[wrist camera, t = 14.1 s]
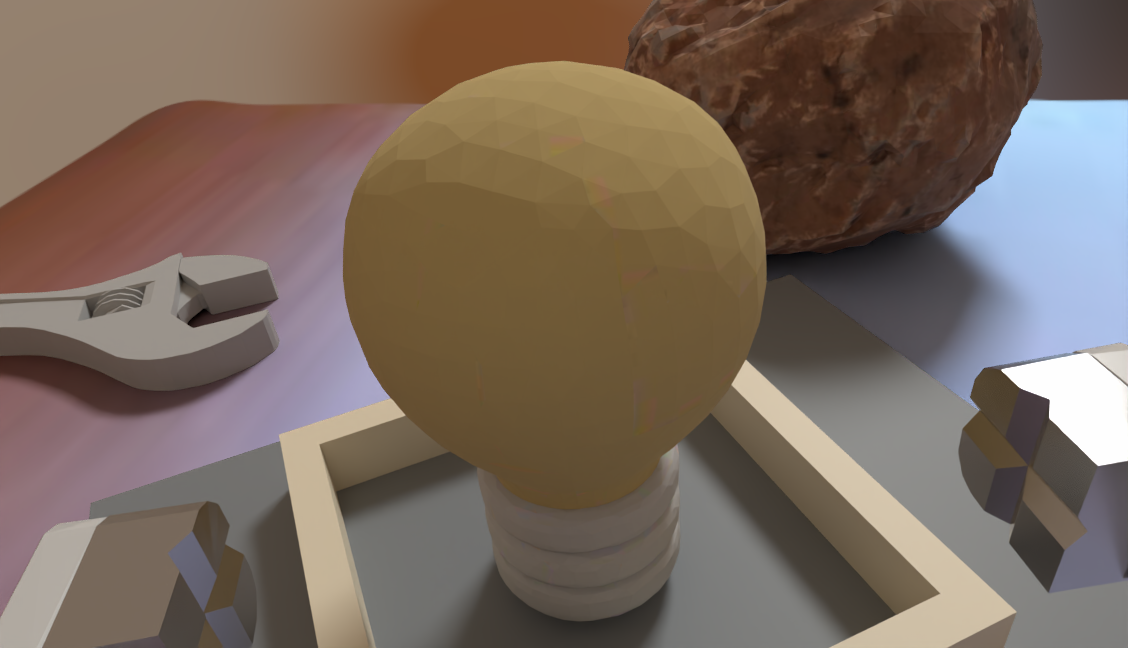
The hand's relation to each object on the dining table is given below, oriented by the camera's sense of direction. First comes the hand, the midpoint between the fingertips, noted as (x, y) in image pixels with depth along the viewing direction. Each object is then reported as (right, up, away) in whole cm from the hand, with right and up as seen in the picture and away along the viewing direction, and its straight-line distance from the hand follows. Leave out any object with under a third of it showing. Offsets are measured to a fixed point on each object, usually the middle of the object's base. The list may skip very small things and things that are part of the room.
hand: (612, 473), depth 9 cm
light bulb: (0, -3, +8) cm, 9 cm away
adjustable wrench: (-22, +1, +20) cm, 30 cm away
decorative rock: (+9, +5, +21) cm, 23 cm away
